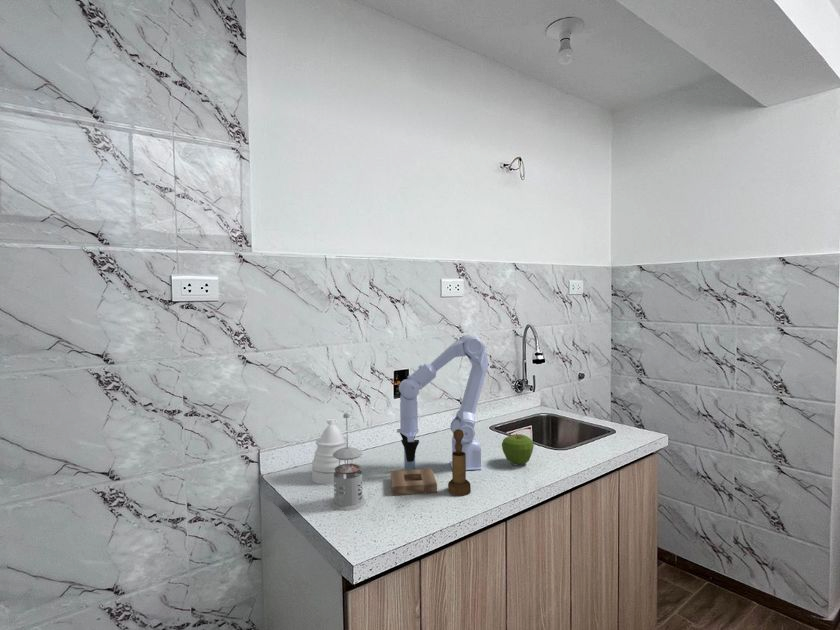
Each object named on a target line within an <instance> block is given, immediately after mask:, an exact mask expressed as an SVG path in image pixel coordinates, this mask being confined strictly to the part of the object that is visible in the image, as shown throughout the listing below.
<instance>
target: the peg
mask: <svg viewBox="0 0 840 630" xmlns="http://www.w3.org/2000/svg"><path fill="white" fill-rule="evenodd" d="M403 453H404V454H403V455H404V456H403V457H404V460H403V462H404V463H403V464H404V470H416V457H415V458H414V461H413V462H407V459H406V453H405V449H404V448H403Z"/></svg>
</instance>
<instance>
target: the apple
mask: <svg viewBox="0 0 840 630" xmlns="http://www.w3.org/2000/svg"><path fill="white" fill-rule="evenodd" d="M534 446H535V445H534V442H533V440H532V438H530V437H529V436H527V435H524V434H512V435H508V436H506V437H504V438H503V441H502V442H501V447H502V448H501V449H502V452H503V454H504V456H505V458H506V460H507V461H508V462H510V463H511V464H512V465H513V466H524V465H525V464H527V463H528V462H529V461H530V459H531V456H532V454H533V451H534Z"/></svg>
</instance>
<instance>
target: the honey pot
mask: <svg viewBox="0 0 840 630" xmlns="http://www.w3.org/2000/svg"><path fill="white" fill-rule="evenodd" d="M335 420H336V419H335V418H327V419H326V424H328V426H327V427H326V428H324V431H323V432H322V434H321V435H320V437H318V438H317V439H316V440H315V445H316V446H317V447H316V449H315V451H314V455H313V459H312V463H311V465H312V466H311V468H312V469H311V472H312V473H311V475H312V481H313V482H314V483H316V484H318V485H324V486H325V485H326V486H327V485H334V484H336V483H335V482H334V473H335V472H336V471H335V468H336V467H337V466H339V459H336V458H335V457H333V453H334V452H336V451H337V450H339V449H341V448H345V447H347V436H344V435H343V433H342V431H341V429H340V428H338V426H337V425H335ZM353 460H354V459H352V460H348V464H349V463H351V464H354V462H353ZM342 464H345V460H340V465H342ZM346 464H347V460H346ZM343 475H344V479H346V474H343Z"/></svg>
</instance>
